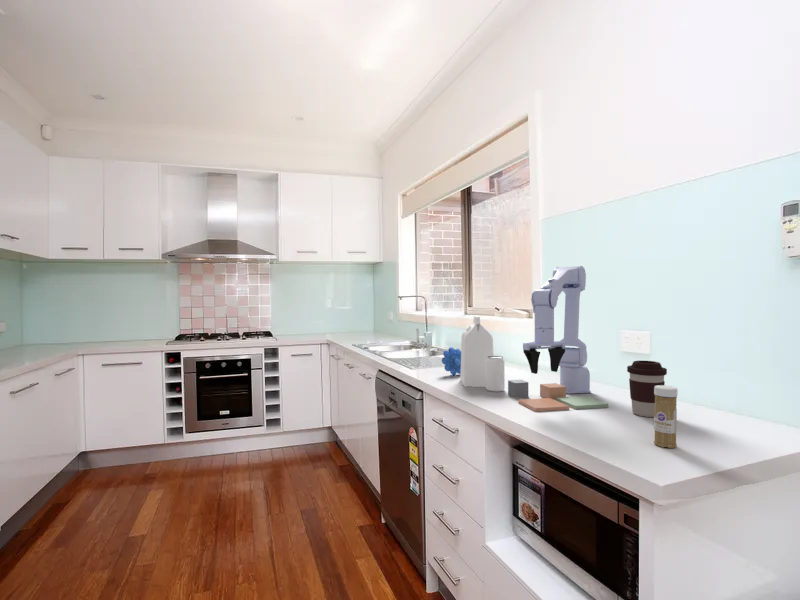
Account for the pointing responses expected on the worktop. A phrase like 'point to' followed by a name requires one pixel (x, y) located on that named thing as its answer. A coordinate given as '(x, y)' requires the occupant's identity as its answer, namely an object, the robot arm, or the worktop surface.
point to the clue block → (552, 390)
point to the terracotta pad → (543, 404)
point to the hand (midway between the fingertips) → (544, 372)
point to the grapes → (452, 360)
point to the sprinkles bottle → (665, 416)
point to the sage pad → (581, 402)
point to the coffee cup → (645, 386)
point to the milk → (475, 354)
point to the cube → (517, 388)
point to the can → (495, 374)
